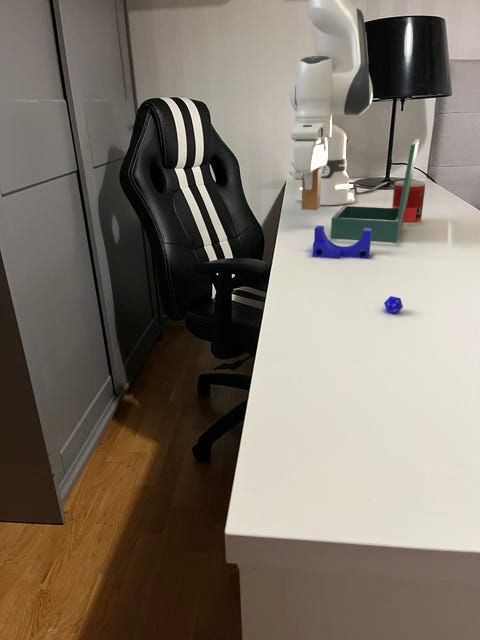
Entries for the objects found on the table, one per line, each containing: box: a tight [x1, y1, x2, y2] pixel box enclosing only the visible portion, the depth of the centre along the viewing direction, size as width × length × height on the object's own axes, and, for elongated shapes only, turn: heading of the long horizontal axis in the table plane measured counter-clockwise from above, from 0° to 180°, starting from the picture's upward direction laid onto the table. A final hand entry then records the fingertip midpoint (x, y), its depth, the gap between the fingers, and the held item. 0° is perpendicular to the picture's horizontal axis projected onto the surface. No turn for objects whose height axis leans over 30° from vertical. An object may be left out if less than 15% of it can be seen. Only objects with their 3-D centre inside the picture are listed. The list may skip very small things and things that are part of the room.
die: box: [383, 295, 404, 315], centre depth 81 cm, size 3×3×3 cm
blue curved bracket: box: [312, 225, 372, 259], centre depth 110 cm, size 12×4×6 cm, turn 71°
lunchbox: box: [330, 205, 404, 244], centre depth 126 cm, size 16×17×6 cm
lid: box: [397, 138, 420, 220], centre depth 119 cm, size 16×17×1 cm
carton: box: [301, 168, 322, 211], centre depth 128 cm, size 4×4×10 cm
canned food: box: [391, 179, 426, 224], centre depth 138 cm, size 8×8×11 cm
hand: (311, 187), depth 128 cm, fingers closed on carton, 4 cm apart
